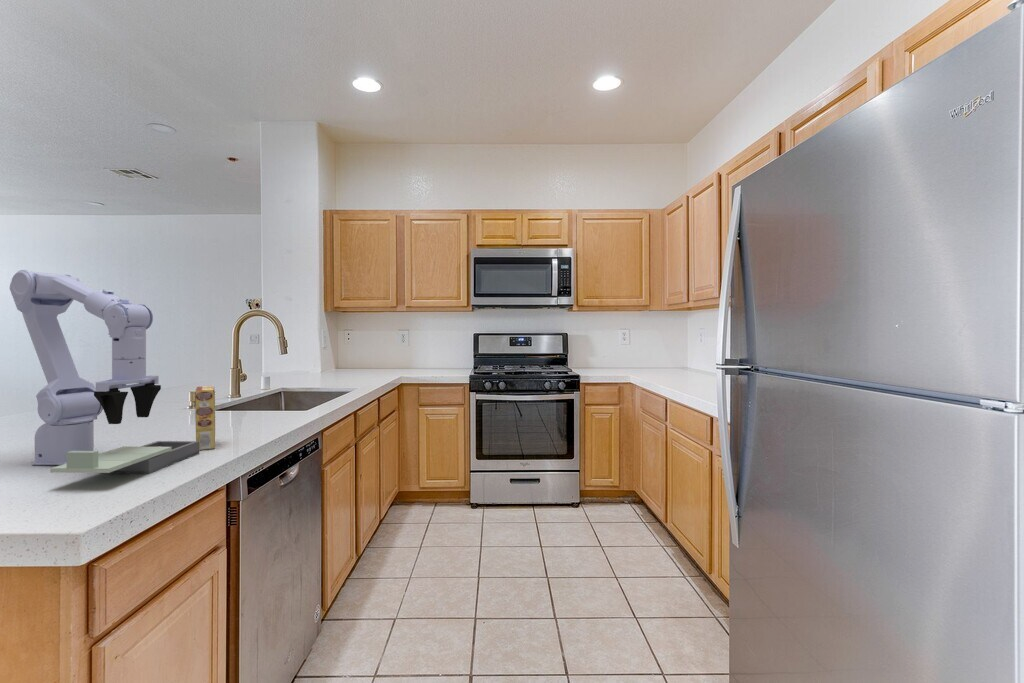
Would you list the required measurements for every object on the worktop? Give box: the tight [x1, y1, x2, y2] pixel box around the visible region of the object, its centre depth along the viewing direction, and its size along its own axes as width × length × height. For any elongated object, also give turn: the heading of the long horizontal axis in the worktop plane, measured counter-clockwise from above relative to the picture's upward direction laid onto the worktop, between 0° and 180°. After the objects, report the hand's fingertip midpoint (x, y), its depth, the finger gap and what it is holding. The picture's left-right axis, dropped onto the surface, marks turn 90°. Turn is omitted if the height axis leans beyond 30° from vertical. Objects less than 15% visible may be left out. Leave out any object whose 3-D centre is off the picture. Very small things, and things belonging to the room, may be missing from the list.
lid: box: [50, 445, 172, 474], centre depth 93 cm, size 11×16×4 cm, turn 2°
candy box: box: [194, 385, 216, 451], centre depth 118 cm, size 9×4×15 cm, turn 33°
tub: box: [109, 440, 200, 475], centre depth 103 cm, size 10×16×3 cm, turn 1°
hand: (129, 420), depth 100 cm, fingers open, 7 cm apart
